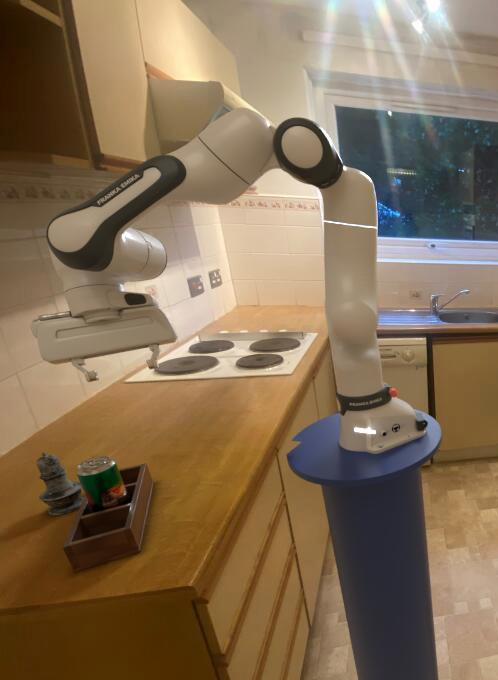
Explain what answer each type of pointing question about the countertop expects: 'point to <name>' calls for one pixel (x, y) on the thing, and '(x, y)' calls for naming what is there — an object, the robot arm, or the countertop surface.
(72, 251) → the robot arm
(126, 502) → the soda can
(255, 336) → the countertop surface
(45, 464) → the grey stacked stone piece
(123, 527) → the wooden compartment tray
